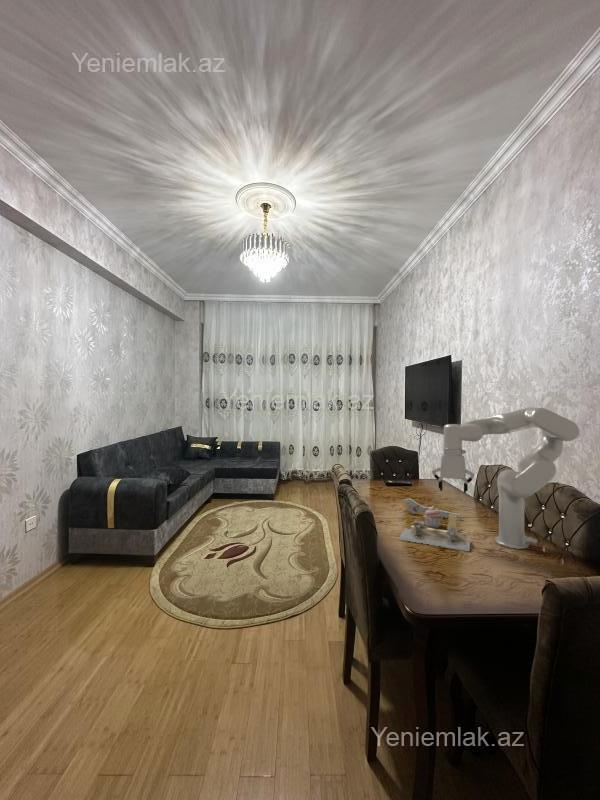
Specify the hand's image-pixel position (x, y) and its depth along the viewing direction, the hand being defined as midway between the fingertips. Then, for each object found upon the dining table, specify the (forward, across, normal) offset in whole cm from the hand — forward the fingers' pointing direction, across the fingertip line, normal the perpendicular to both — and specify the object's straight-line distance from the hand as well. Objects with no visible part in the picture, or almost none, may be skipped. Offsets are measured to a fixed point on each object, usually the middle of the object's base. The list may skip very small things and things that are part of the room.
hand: (452, 491), depth 160 cm
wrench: (+22, +13, -33) cm, 42 cm away
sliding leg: (+20, 0, +2) cm, 20 cm away
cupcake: (+22, +10, -17) cm, 30 cm away
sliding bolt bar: (+20, +6, +2) cm, 21 cm away
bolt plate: (+22, +7, +3) cm, 23 cm away
